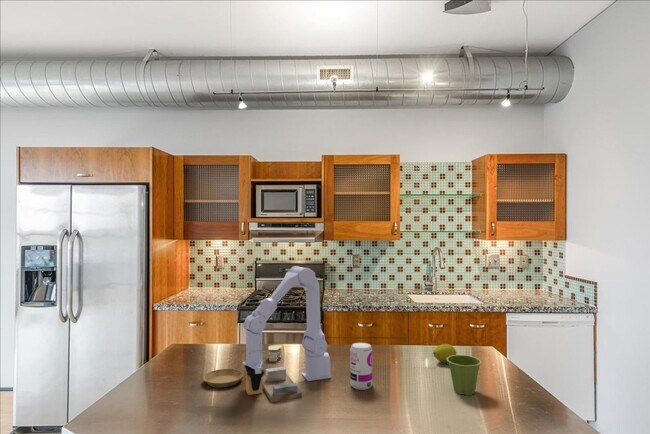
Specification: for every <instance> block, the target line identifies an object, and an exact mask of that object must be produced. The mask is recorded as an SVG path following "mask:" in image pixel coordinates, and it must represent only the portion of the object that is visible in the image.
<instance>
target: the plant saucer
mask: <svg viewBox="0 0 650 434" xmlns="http://www.w3.org/2000/svg"><path fill="white" fill-rule="evenodd" d="M243 377H244V372H243V371H242V370H239V369H237V368H236V369H234V368H222V369H221V368H220V369H216V370H211V371H209V372H207V373H206V374H205V375H203V380H204V381H205V383H207V385H209V386H211V387H212V388H213V387H214V388H227V387H228V388H229V387H231V386H235V385H236V384H237V383H239V381H240V380H242V378H243Z"/></svg>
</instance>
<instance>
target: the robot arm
mask: <svg viewBox="0 0 650 434" xmlns="http://www.w3.org/2000/svg"><path fill="white" fill-rule="evenodd" d="M283 277H284V278H283V279H282V280H281V282H280V283H279V284H278V285H277V287H276V289H275V290H274V291H273V292H272V294H271V295H270V296H269V297H266V298H264V299H261V300H260V301H259V303H260V304H259V305H258V306H257V307H256V308H255V310H253V311H252V312H251V314H250V315H247V316H246V317H245V320H244V322H243V327H244V329H245V331H246V332H245V361H243V362H242V365H243V366H244V368H245V371H246V376H247V375H249V376H250V379H251V385H252V390H253V391H256V390H259V387H260V382H261V379H262V376H264V374H265V369H262V366H263V331H264V330H265V328H266V323H267V321H268V320H269V319H270V317H271V316H272V315H273V314H274V312H275V311H277V309H278V306H277V305H278V303H279V301H281V300H282V298H283V297H284V296H285V295H286V294H287V293H288V292H289V291H290V290H291V289H292V288H297V287H300V286H301V287H302V288H303V289H304V290H305V309H306V314H305V315H306V329H305V331H304V332H303V338H302V341H301V345H302V348H303V349H304V353H305V354H304V355H305V356H304V357H305V359H304V360H305V361H304V363H305V368H304V369H305V371H304V372H301V374H302V376H303V377H304V378H305V379H306V380H307V381H308V382H310V381H319V380H325V379H331V378H332V376H331V358H330V355H329V353H328V352H327V350H328V343H327V341H326V335H325V334H324V333H323V330H322V329H321V328H322V327H321V295H320V294H321V293H320V283H319V281H318V279H317V277H316V272H315V271H314V270H312V269H311V268H309V267H301V266H298V265H294V266H292V267H290V269H289V270H288V271H287V272H286V273H285V275H284V276H283Z"/></svg>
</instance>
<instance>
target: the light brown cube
mask: <svg viewBox="0 0 650 434" xmlns="http://www.w3.org/2000/svg"><path fill="white" fill-rule="evenodd" d="M245 391H246V394H247V396H250V395H256V394H263V388H262V379H261V382H260V387H259V390H256V391H253V390H252V385H251V379H250V376H249V375H247V374H246V375H245Z"/></svg>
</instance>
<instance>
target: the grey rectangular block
mask: <svg viewBox="0 0 650 434" xmlns="http://www.w3.org/2000/svg"><path fill="white" fill-rule="evenodd" d="M286 374H287V369H286V368H285V366H279V367H271V368H266V369H265V376H266V380H267V382H272V381H279V380H286Z"/></svg>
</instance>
